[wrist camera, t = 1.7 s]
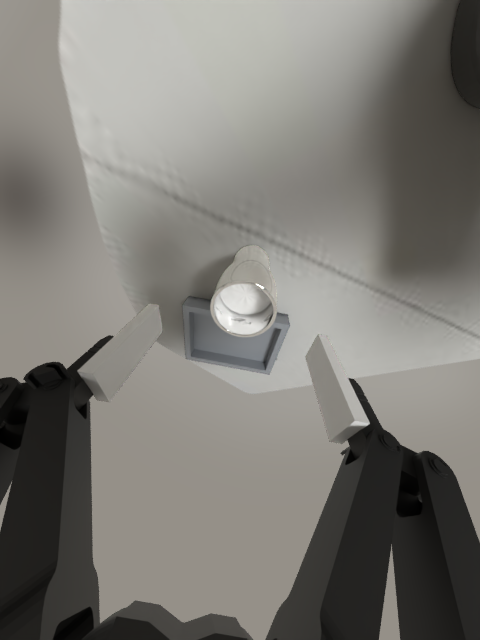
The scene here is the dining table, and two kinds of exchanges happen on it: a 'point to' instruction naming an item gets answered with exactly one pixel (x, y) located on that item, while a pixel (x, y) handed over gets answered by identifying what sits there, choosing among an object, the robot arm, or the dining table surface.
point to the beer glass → (246, 295)
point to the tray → (229, 340)
